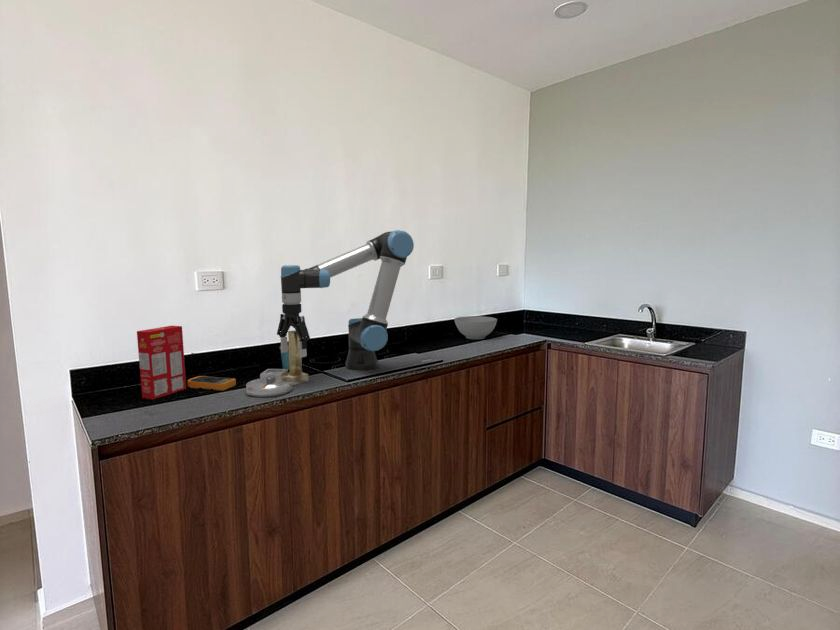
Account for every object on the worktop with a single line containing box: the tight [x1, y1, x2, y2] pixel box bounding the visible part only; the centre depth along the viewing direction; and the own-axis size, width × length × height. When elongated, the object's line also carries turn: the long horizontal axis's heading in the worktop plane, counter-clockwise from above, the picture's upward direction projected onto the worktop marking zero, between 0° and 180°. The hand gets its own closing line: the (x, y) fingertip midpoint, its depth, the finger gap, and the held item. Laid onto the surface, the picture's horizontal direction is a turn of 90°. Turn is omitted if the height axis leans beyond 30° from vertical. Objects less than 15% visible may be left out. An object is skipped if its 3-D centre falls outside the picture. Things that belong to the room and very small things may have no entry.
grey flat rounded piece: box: [245, 368, 294, 398], centre depth 178 cm, size 18×17×6 cm
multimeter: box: [186, 375, 237, 391], centre depth 184 cm, size 9×18×3 cm, turn 74°
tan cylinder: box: [287, 329, 303, 376], centre depth 190 cm, size 5×5×18 cm
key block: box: [286, 372, 309, 386], centre depth 191 cm, size 8×8×3 cm
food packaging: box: [136, 325, 187, 401], centre depth 173 cm, size 15×5×25 cm, turn 159°
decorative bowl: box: [453, 315, 498, 340], centre depth 291 cm, size 27×27×12 cm
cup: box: [279, 344, 289, 370], centre depth 210 cm, size 14×8×15 cm, turn 48°
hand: (293, 354), depth 189 cm, fingers open, 13 cm apart
